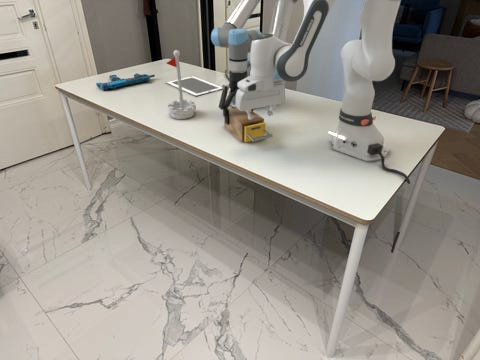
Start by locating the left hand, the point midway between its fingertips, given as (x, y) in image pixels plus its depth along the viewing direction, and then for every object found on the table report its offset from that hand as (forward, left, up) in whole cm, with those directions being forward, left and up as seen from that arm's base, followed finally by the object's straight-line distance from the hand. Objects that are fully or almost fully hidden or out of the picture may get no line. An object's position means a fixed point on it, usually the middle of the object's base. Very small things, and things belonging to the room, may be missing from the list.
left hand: (238, 121), depth 150 cm
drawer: (+9, +5, -2) cm, 11 cm away
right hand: (+16, +9, +9) cm, 21 cm away
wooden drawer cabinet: (+4, +2, -3) cm, 6 cm away
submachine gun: (-67, -72, -3) cm, 98 cm away
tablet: (-60, -28, -3) cm, 66 cm away
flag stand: (-15, -28, -3) cm, 32 cm away
